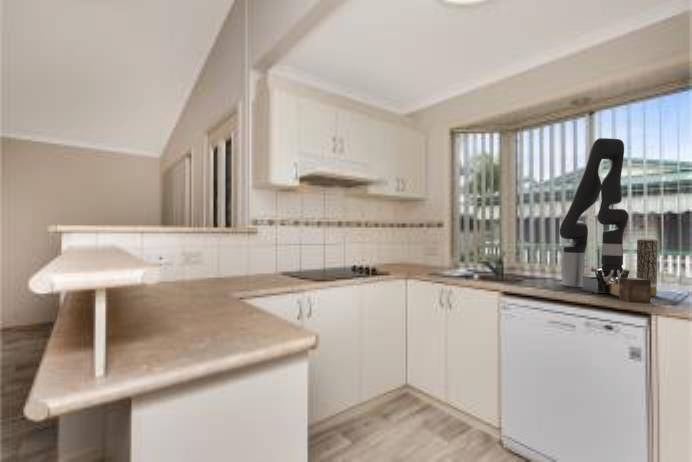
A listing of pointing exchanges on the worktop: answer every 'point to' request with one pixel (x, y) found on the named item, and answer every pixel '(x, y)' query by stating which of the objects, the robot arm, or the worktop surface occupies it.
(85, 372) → the worktop surface
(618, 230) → the robot arm
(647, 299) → the socket block
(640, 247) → the bark textured post
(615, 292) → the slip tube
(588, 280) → the grey multicoloured box
